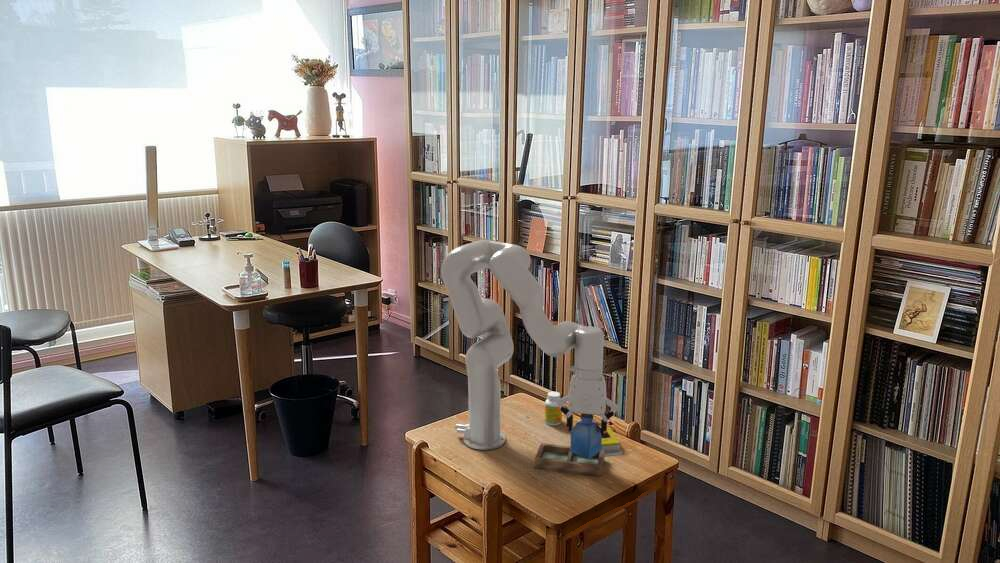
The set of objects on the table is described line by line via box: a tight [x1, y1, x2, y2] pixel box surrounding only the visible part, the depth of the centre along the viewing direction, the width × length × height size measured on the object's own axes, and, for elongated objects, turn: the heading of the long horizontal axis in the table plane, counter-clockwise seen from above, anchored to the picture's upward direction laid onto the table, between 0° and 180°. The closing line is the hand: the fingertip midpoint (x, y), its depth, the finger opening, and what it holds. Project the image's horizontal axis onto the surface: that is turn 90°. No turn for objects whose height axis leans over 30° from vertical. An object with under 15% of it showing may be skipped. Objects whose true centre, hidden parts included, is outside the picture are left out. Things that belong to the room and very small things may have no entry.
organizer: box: [533, 442, 605, 478], centre depth 203 cm, size 18×10×3 cm, turn 77°
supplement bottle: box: [544, 391, 563, 426], centre depth 229 cm, size 5×5×10 cm
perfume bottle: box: [570, 413, 602, 459], centre depth 200 cm, size 6×6×12 cm
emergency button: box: [600, 425, 624, 457], centre depth 215 cm, size 9×4×15 cm
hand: (586, 430), depth 200 cm, fingers closed on perfume bottle, 8 cm apart
